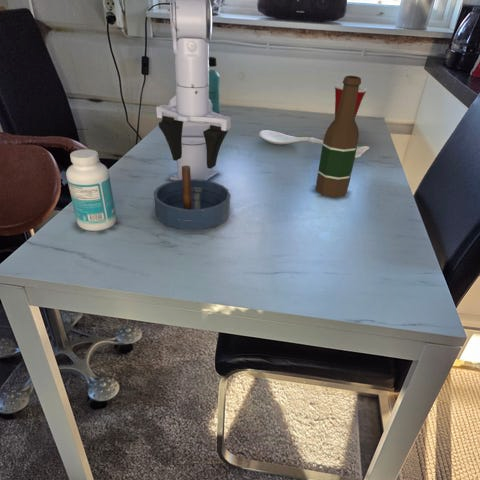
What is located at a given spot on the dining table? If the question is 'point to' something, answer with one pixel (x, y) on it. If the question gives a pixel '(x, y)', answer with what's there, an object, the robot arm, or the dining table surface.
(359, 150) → the spoon
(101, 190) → the pill bottle
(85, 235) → the dining table surface
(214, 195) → the bowl
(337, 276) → the dining table surface
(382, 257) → the dining table surface
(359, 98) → the plastic cup
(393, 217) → the dining table surface
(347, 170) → the beer bottle
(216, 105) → the beverage bottle
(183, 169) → the stirring stick
